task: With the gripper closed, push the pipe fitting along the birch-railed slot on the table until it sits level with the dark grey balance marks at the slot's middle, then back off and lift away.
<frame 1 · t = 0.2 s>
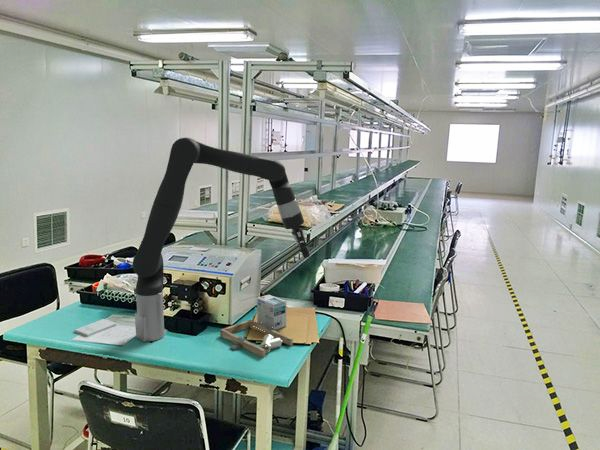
hand: (305, 254, 172), 31 cm above the table, tool tilted 20°, fingers open, 8 cm apart
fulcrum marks: (255, 340, 171), resting in wooden frame
pipe fitting: (271, 349, 165), on the table
external hard drive: (95, 330, 179), on the table
light bulb box: (271, 325, 186), on the table
wooden frame: (255, 340, 171), on the table
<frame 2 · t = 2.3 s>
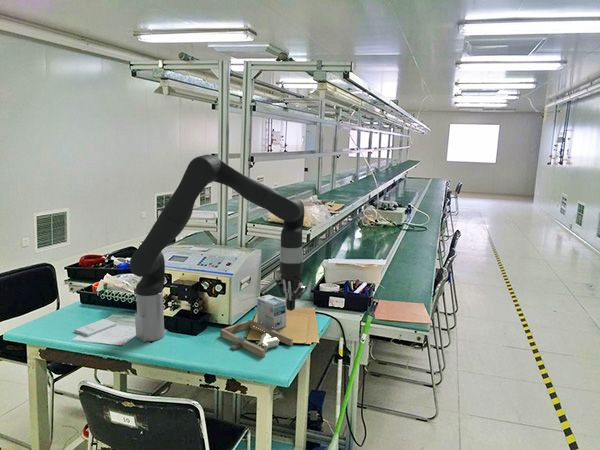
hand: (290, 309, 156), 17 cm above the table, tool pointing down, fingers closed
pipe fitting: (268, 348, 166), on the table
everything else where it was.
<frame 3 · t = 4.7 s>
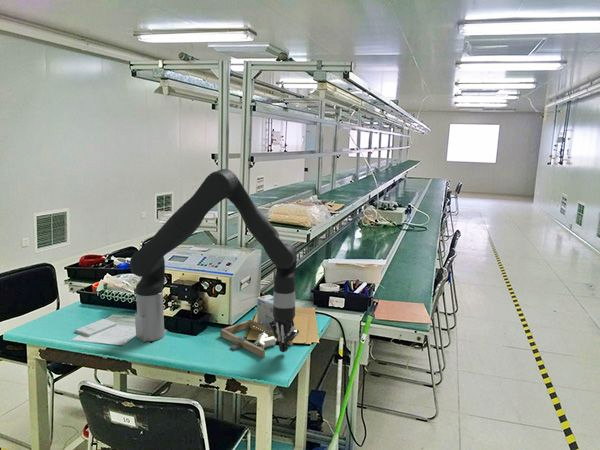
hand: (283, 351, 161), 1 cm above the table, tool pointing down, fingers closed
pipe fitting: (265, 347, 166), on the table
everything else where it was.
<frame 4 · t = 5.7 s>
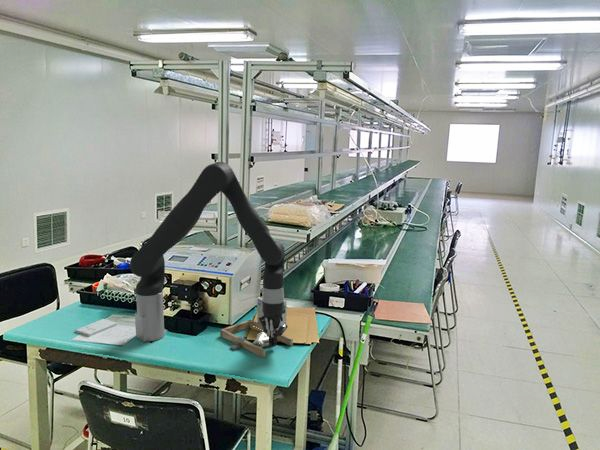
hand: (272, 345, 164), 1 cm above the table, tool pointing down, fingers closed
pipe fitting: (264, 347, 167), on the table, touching gripper
everything else where it was.
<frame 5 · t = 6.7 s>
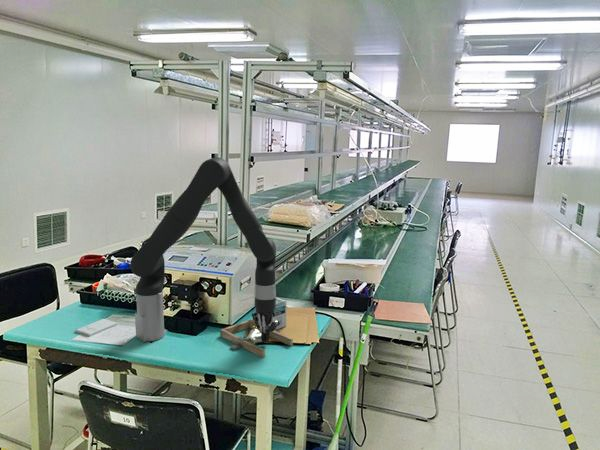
hand: (265, 341, 167), 1 cm above the table, tool pointing down, fingers closed
pipe fitting: (256, 343, 169), on the table, touching gripper
everything else where it was.
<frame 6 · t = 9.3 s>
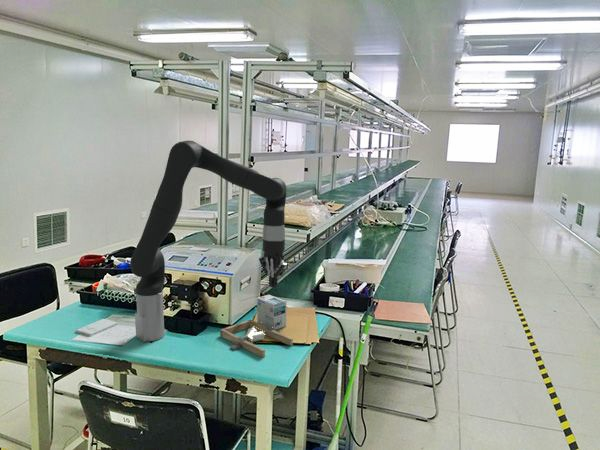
hand: (273, 286, 160), 23 cm above the table, tool pointing down, fingers closed
pipe fitting: (254, 342, 171), on the table
everything else where it was.
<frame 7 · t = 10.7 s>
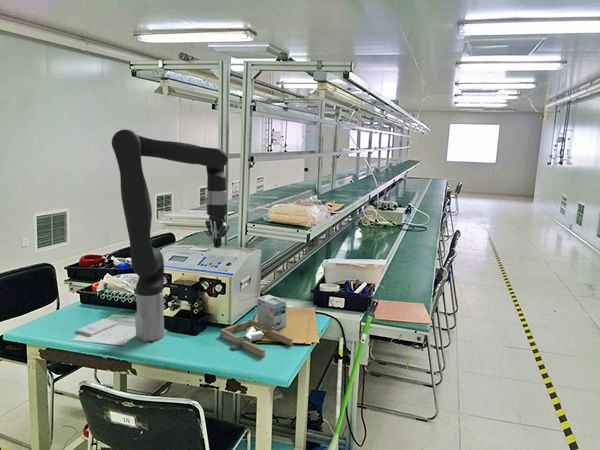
hand: (217, 247, 178), 32 cm above the table, tool pointing down, fingers closed
nothing on the table moved.
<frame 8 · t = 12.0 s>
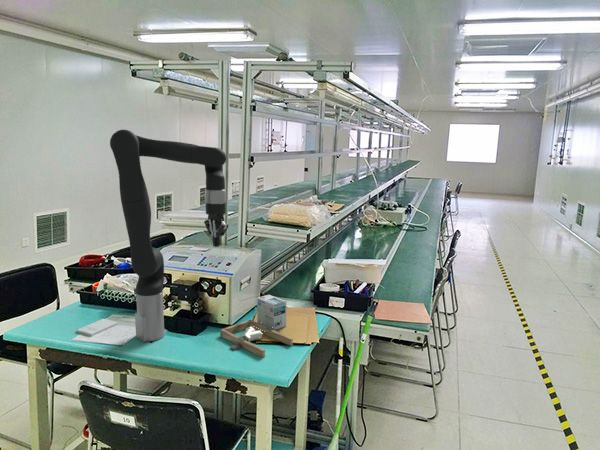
hand: (216, 246, 178), 32 cm above the table, tool pointing down, fingers closed
at the end: pipe fitting inside the target area on the wooden frame (1.5 cm from its centre), point -0.5 cm above the wooden frame's base; pipe fitting moved 10.3 cm from its start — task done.
